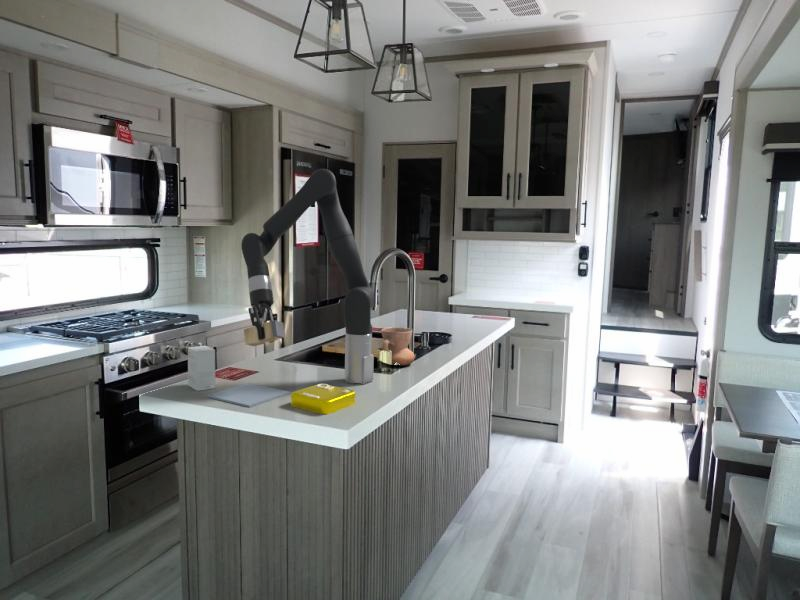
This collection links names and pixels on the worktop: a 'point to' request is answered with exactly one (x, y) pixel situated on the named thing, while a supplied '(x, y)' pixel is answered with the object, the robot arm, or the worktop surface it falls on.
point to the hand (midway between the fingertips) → (266, 340)
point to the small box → (201, 368)
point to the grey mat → (248, 394)
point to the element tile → (323, 398)
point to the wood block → (272, 333)
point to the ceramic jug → (398, 344)
